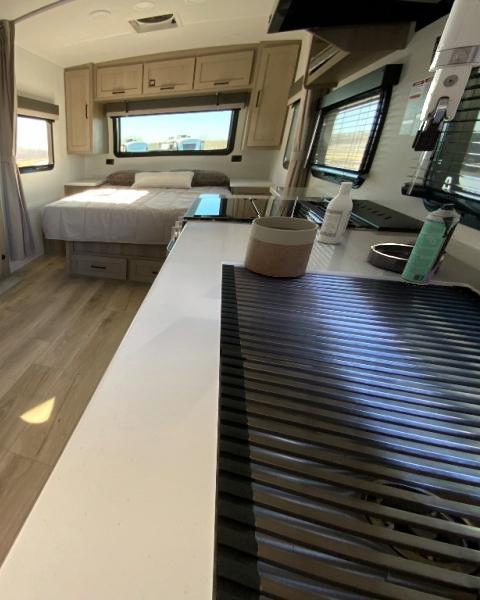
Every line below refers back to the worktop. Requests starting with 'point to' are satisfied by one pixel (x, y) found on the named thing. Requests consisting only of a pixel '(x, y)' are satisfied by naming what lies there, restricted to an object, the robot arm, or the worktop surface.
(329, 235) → the bath foam
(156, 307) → the worktop surface
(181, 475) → the worktop surface
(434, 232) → the spray can
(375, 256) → the pan
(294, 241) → the planter
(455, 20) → the robot arm
